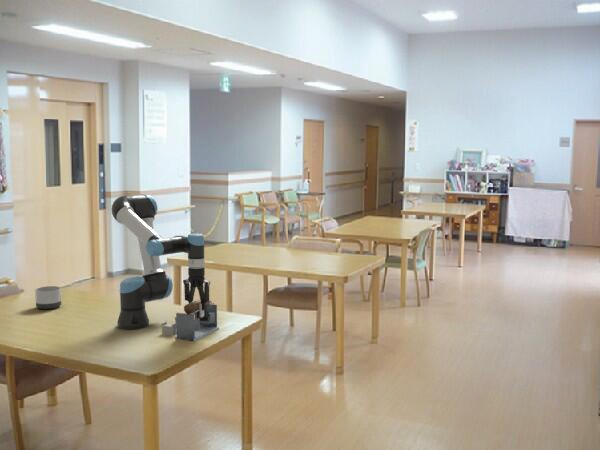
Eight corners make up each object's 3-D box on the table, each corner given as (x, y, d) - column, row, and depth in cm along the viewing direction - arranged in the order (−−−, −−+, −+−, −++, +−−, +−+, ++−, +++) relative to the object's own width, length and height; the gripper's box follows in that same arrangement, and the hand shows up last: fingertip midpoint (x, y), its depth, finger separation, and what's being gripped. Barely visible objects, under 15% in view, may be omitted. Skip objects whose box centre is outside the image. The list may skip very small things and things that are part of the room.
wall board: (174, 338, 288) (174, 336, 288) (199, 326, 307) (199, 324, 307) (195, 341, 284) (195, 339, 284) (219, 329, 303) (219, 327, 303)
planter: (44, 304, 349) (43, 285, 348) (65, 305, 348) (65, 286, 346) (31, 310, 337) (30, 291, 336) (53, 311, 335) (52, 291, 334)
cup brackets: (176, 338, 288) (176, 313, 286) (201, 326, 307) (200, 302, 305) (193, 341, 284) (193, 315, 283) (217, 328, 303) (216, 304, 302)
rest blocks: (161, 333, 295) (161, 323, 294) (178, 326, 308) (178, 315, 307) (173, 335, 292) (173, 324, 292) (189, 327, 305) (189, 317, 305)
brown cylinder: (192, 314, 286) (192, 304, 286) (184, 313, 288) (183, 303, 287) (209, 306, 300) (209, 297, 299) (201, 306, 302) (201, 296, 301)
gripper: (175, 267, 291) (176, 316, 294) (208, 270, 285) (209, 320, 288) (184, 264, 298) (185, 312, 301) (216, 267, 292) (217, 316, 294)
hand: (197, 316), depth 294 cm, fingers closed on brown cylinder, 4 cm apart
